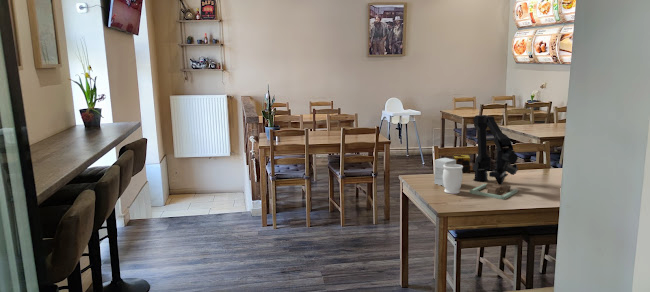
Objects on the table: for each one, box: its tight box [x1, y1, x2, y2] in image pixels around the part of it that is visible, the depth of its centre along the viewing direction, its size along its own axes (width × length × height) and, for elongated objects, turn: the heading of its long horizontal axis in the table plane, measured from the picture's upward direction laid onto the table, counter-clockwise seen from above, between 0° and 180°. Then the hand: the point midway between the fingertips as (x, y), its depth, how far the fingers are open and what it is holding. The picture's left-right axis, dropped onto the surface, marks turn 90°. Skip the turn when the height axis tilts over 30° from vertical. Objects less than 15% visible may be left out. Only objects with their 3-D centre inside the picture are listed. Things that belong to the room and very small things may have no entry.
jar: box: [443, 164, 464, 195], centre depth 264 cm, size 11×10×15 cm
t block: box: [485, 182, 511, 195], centre depth 264 cm, size 12×12×3 cm
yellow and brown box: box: [453, 154, 471, 174], centre depth 313 cm, size 10×10×10 cm
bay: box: [469, 183, 519, 201], centre depth 263 cm, size 19×19×2 cm
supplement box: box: [433, 157, 456, 187], centre depth 280 cm, size 9×9×15 cm
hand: (500, 186), depth 269 cm, fingers closed
